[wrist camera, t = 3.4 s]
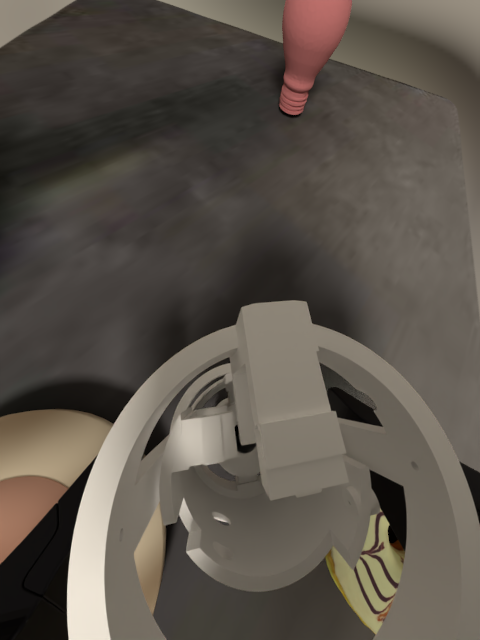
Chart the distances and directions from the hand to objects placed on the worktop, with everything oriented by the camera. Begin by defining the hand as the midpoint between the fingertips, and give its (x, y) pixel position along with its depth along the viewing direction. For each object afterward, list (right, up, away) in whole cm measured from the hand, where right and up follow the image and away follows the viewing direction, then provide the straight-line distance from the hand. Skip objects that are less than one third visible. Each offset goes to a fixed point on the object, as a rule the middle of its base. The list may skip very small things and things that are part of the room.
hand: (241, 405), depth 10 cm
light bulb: (+7, +34, +21) cm, 41 cm away
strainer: (-1, -4, +7) cm, 8 cm away
